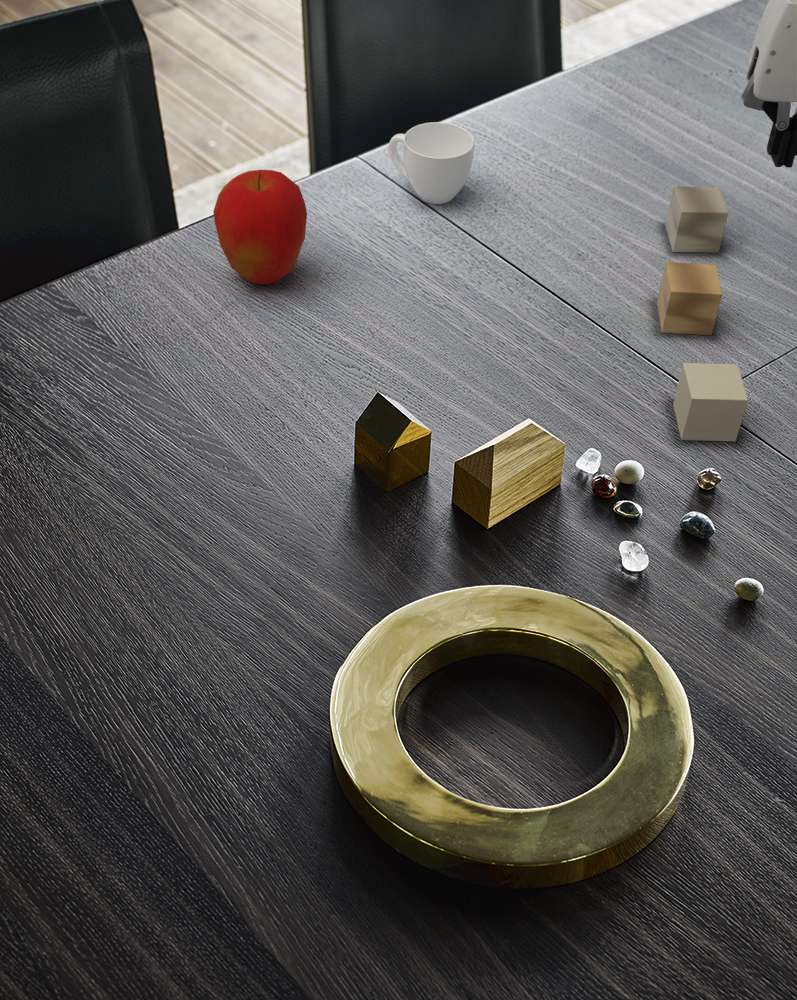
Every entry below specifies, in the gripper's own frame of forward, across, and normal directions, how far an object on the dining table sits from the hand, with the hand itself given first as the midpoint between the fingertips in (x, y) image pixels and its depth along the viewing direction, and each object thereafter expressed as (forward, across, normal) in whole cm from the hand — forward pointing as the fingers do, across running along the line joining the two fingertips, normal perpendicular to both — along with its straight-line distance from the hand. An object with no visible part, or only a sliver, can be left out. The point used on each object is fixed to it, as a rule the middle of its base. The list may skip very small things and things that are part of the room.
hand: (780, 160), depth 128 cm
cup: (+10, +36, -9) cm, 38 cm away
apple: (+10, +53, +8) cm, 54 cm away
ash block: (+10, +7, -1) cm, 13 cm away
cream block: (+11, +11, +29) cm, 33 cm away
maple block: (+11, +10, +13) cm, 20 cm away
